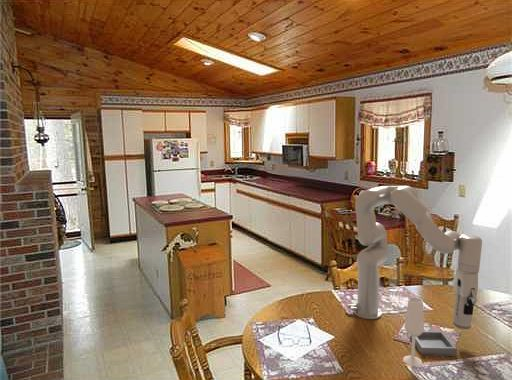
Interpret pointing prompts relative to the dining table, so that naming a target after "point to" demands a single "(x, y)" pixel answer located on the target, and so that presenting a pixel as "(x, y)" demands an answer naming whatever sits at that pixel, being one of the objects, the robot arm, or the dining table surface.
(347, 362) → the dining table surface
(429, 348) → the tray
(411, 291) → the dining table surface
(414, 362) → the champagne flute
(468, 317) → the travel mug
